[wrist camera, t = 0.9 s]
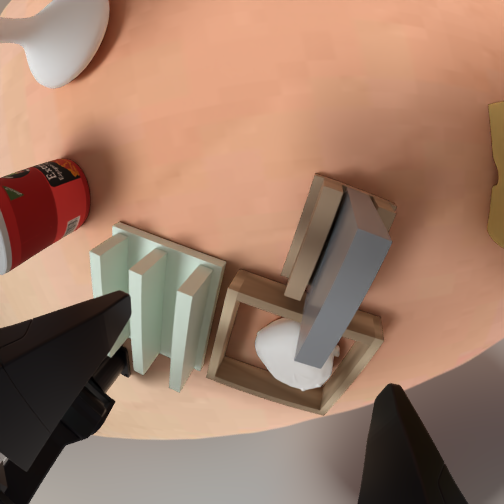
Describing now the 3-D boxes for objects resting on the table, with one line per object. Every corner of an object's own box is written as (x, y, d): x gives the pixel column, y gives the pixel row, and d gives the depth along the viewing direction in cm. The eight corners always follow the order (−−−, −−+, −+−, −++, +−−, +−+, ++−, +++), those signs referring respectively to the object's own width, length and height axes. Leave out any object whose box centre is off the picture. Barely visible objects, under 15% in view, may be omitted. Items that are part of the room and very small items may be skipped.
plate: (327, 291, 21) (320, 368, 14) (307, 284, 22) (293, 360, 15) (368, 194, 18) (392, 241, 11) (346, 186, 18) (357, 228, 11)
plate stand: (352, 294, 22) (354, 319, 19) (282, 270, 23) (274, 292, 20) (394, 203, 18) (405, 217, 15) (315, 173, 19) (313, 181, 16)
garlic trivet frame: (326, 393, 28) (323, 415, 25) (216, 357, 29) (206, 377, 26) (380, 317, 22) (384, 340, 19) (239, 268, 23) (227, 288, 21)
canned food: (90, 156, 23) (-7, 190, 13) (96, 234, 26) (16, 287, 17) (47, 156, 24) (-35, 185, 14) (53, 223, 28) (-17, 264, 18)
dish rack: (203, 365, 30) (185, 397, 26) (121, 326, 31) (98, 352, 27) (226, 261, 23) (202, 294, 19) (119, 221, 25) (83, 243, 20)
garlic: (349, 360, 25) (348, 389, 22) (288, 377, 28) (282, 404, 25) (313, 299, 23) (310, 328, 20) (247, 323, 26) (236, 351, 23)
